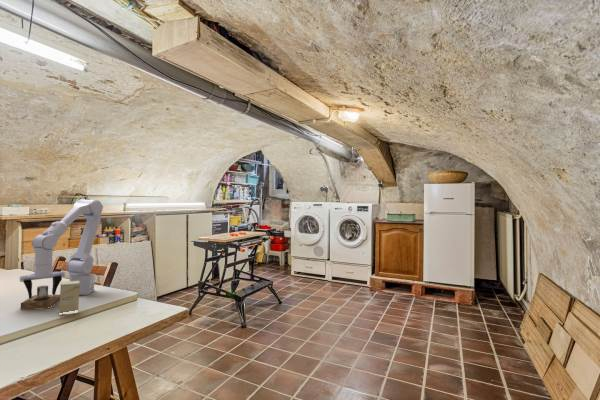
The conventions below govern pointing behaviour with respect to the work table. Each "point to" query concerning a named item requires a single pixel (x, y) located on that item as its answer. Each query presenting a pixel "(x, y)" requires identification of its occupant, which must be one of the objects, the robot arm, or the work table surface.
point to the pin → (42, 293)
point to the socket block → (40, 302)
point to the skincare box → (69, 296)
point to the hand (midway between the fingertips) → (42, 295)
